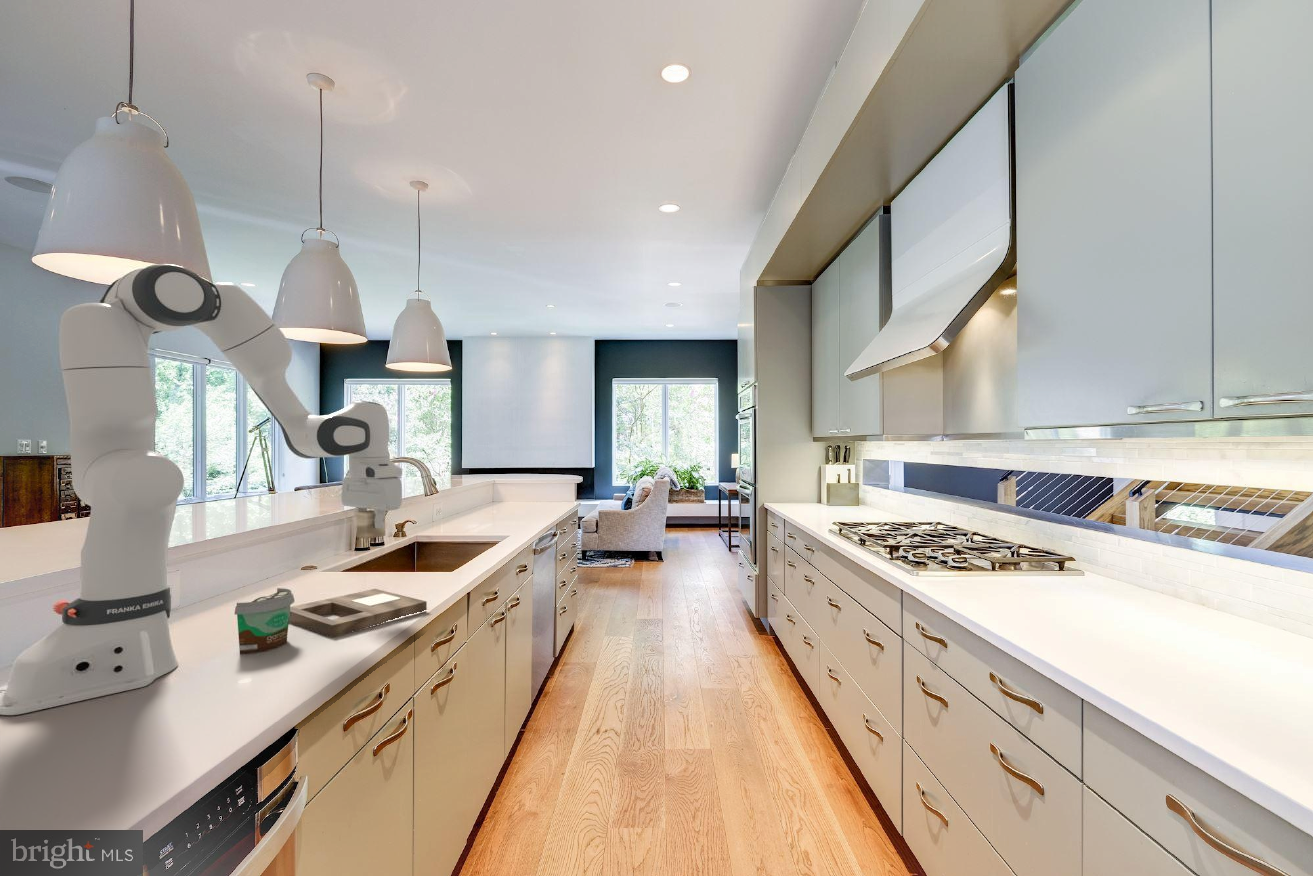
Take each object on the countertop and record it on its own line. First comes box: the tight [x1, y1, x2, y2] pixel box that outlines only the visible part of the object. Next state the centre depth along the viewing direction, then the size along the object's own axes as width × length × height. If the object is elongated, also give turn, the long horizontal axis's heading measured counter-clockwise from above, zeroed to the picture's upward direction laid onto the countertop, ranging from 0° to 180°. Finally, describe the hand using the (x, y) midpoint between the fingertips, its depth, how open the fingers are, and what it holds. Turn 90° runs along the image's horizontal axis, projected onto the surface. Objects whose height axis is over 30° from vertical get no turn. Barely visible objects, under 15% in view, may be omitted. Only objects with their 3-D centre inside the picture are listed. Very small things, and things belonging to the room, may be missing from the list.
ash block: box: [355, 509, 386, 540], centre depth 136 cm, size 4×4×6 cm
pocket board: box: [289, 588, 428, 638], centre depth 133 cm, size 22×22×3 cm
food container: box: [234, 587, 295, 655], centre depth 113 cm, size 12×6×10 cm, turn 179°
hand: (370, 526), depth 136 cm, fingers closed on ash block, 4 cm apart
